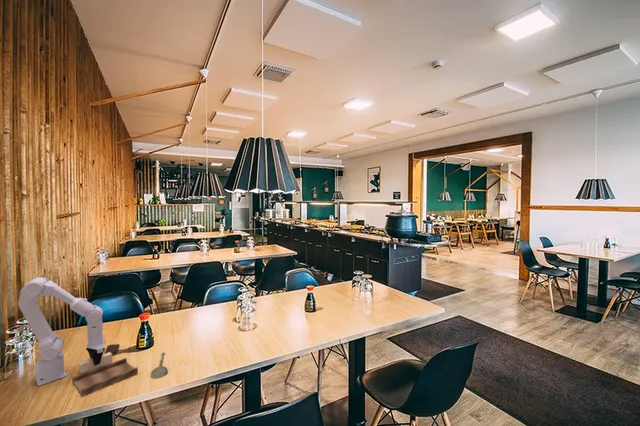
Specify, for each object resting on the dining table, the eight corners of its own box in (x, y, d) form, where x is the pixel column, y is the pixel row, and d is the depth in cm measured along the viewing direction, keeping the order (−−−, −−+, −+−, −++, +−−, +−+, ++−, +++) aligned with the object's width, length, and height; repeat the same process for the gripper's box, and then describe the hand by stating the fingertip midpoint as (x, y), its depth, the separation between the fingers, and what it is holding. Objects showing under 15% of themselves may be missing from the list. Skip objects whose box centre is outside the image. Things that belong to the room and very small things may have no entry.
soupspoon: (149, 382, 130) (166, 380, 132) (149, 375, 130) (166, 372, 132) (156, 356, 150) (170, 354, 153) (156, 349, 150) (171, 348, 152)
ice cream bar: (114, 359, 147) (119, 346, 161) (114, 356, 147) (119, 343, 161) (101, 361, 145) (107, 348, 159) (101, 358, 145) (107, 345, 159)
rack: (82, 396, 119) (81, 390, 119) (72, 383, 127) (72, 377, 127) (137, 373, 134) (137, 368, 134) (125, 363, 143) (125, 357, 143)
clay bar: (80, 373, 134) (80, 364, 134) (78, 371, 136) (78, 362, 135) (112, 362, 143) (112, 354, 143) (110, 360, 145) (109, 352, 145)
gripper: (110, 335, 137) (111, 364, 138) (100, 327, 146) (100, 354, 147) (92, 341, 132) (92, 371, 132) (82, 332, 141) (83, 360, 141)
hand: (95, 363), depth 139 cm, fingers closed on clay bar, 3 cm apart
